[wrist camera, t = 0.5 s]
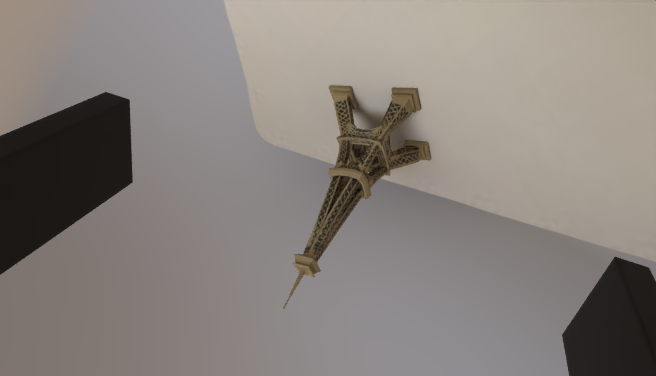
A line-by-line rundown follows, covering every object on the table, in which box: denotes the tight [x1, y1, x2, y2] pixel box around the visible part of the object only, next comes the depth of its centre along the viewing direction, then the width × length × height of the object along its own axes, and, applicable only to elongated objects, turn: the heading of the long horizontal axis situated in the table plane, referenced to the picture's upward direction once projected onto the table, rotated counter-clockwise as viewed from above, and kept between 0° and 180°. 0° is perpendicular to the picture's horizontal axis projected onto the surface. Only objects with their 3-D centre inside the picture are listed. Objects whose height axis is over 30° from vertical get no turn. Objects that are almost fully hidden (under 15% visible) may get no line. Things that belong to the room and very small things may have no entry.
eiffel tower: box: [283, 86, 431, 309], centre depth 49 cm, size 11×11×25 cm
